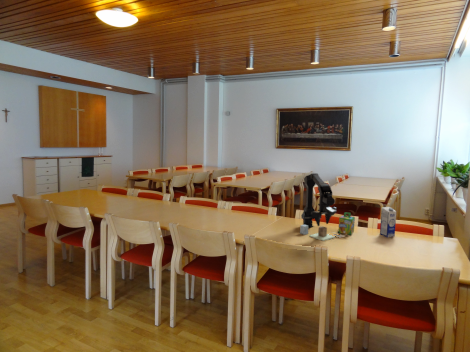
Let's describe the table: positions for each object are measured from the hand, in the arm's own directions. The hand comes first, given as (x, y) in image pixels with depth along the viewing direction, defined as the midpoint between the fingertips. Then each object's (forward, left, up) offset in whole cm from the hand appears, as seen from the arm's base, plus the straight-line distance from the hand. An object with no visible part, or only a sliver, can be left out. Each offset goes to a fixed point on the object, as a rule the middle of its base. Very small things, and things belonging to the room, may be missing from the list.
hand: (322, 224), depth 226 cm
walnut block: (0, 0, -8) cm, 8 cm away
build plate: (0, 0, -9) cm, 9 cm away
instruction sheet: (+3, +12, -9) cm, 15 cm away
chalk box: (+3, +23, -9) cm, 25 cm away
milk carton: (+24, +41, -9) cm, 48 cm away
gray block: (-13, -4, -9) cm, 16 cm away
